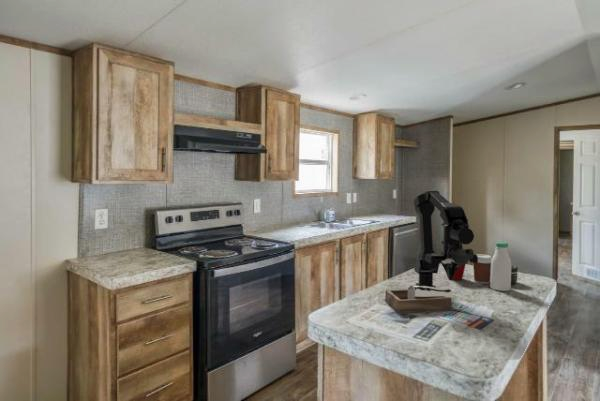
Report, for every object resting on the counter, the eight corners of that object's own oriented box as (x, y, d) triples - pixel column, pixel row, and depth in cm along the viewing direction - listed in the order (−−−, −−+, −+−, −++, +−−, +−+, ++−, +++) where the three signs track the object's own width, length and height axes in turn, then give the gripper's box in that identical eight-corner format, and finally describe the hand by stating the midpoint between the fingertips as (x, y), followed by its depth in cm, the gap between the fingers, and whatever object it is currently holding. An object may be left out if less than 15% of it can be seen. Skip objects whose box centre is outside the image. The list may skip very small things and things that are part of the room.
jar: (517, 281, 172) (518, 264, 171) (516, 286, 164) (517, 269, 163) (493, 277, 177) (494, 262, 177) (491, 283, 169) (491, 266, 168)
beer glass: (454, 306, 137) (415, 304, 134) (443, 304, 143) (407, 303, 141) (453, 286, 138) (415, 284, 136) (443, 286, 145) (406, 284, 143)
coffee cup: (475, 277, 177) (476, 252, 176) (496, 281, 171) (497, 255, 170) (467, 281, 171) (468, 255, 170) (488, 285, 164) (489, 259, 164)
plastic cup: (440, 279, 175) (440, 253, 174) (447, 274, 183) (447, 250, 183) (464, 283, 168) (465, 257, 167) (470, 278, 177) (471, 253, 176)
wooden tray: (384, 300, 145) (384, 289, 145) (432, 298, 148) (433, 287, 148) (399, 313, 131) (399, 301, 131) (452, 310, 134) (452, 298, 134)
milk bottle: (513, 292, 156) (515, 244, 154) (493, 291, 157) (494, 244, 156) (506, 286, 163) (508, 241, 162) (487, 285, 165) (489, 240, 163)
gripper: (439, 244, 131) (438, 287, 132) (488, 242, 133) (486, 285, 135) (424, 238, 142) (423, 279, 143) (469, 237, 144) (468, 277, 146)
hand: (450, 280), depth 141 cm, fingers closed
